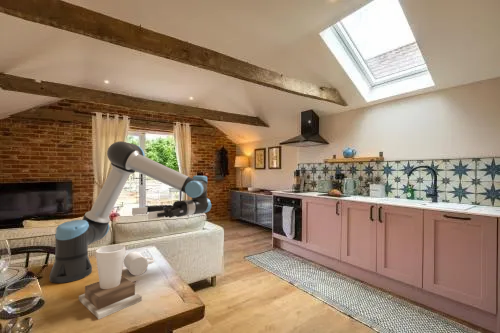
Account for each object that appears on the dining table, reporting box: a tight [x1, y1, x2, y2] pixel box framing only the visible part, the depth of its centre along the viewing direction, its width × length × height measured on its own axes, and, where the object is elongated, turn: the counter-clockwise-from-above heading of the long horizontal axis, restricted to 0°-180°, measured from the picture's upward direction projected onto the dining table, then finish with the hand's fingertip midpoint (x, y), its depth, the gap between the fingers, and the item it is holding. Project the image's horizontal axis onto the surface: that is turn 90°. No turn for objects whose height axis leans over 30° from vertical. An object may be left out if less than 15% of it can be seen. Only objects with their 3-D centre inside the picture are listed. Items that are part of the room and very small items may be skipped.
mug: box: [123, 251, 155, 276], centre depth 113 cm, size 12×10×8 cm
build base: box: [78, 275, 143, 320], centre depth 87 cm, size 18×14×6 cm
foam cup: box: [95, 244, 127, 289], centre depth 87 cm, size 10×9×13 cm
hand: (140, 213), depth 99 cm, fingers open, 13 cm apart
